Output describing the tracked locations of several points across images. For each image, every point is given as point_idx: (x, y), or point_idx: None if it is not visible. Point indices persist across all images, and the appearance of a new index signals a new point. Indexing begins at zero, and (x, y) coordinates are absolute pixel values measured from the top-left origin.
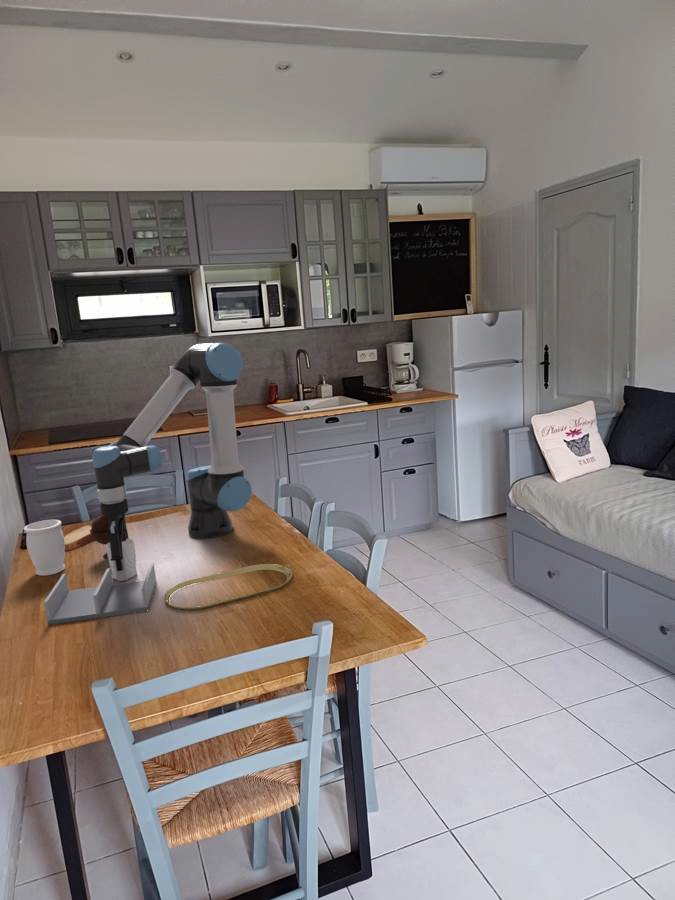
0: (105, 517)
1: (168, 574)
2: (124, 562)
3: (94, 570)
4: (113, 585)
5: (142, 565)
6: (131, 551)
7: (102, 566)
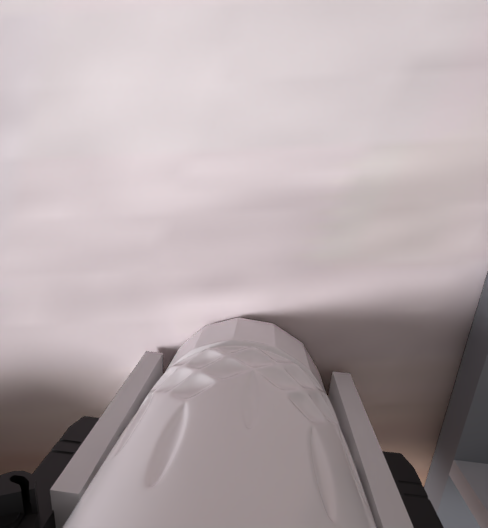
0: None
1: (373, 71)
2: (381, 485)
3: None
4: (467, 455)
5: (99, 284)
6: (326, 504)
7: None
